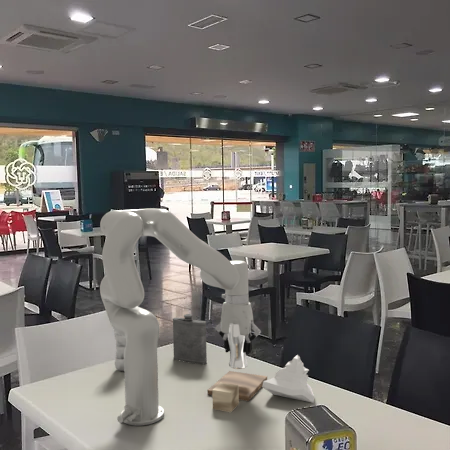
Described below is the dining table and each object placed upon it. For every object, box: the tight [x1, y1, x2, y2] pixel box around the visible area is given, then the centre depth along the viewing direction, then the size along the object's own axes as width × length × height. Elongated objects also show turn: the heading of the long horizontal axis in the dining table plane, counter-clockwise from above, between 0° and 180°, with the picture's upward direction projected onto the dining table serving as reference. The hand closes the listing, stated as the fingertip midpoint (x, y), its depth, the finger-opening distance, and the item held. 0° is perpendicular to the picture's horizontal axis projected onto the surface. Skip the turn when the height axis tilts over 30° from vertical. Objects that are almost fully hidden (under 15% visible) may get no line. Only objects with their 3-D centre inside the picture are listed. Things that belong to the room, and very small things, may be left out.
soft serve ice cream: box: [261, 354, 315, 404], centre depth 163 cm, size 12×15×14 cm
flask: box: [172, 313, 208, 365], centre depth 196 cm, size 4×14×18 cm, turn 62°
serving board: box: [207, 370, 268, 402], centre depth 171 cm, size 18×14×2 cm
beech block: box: [211, 383, 240, 413], centre depth 156 cm, size 6×6×6 cm
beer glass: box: [227, 323, 248, 370], centre depth 170 cm, size 7×7×15 cm
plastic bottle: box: [113, 329, 126, 372], centre depth 188 cm, size 6×7×20 cm
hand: (238, 351), depth 170 cm, fingers closed on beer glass, 6 cm apart
